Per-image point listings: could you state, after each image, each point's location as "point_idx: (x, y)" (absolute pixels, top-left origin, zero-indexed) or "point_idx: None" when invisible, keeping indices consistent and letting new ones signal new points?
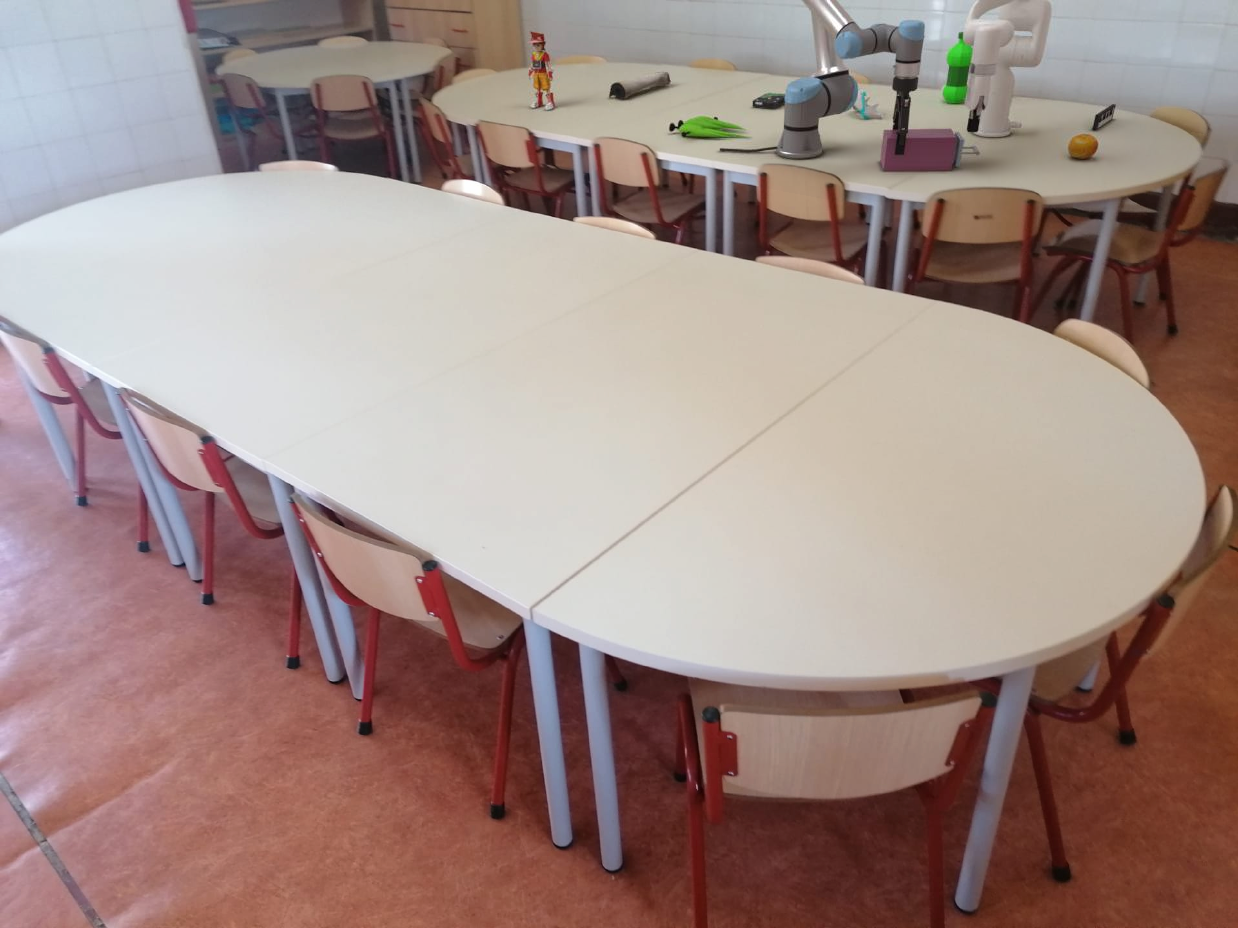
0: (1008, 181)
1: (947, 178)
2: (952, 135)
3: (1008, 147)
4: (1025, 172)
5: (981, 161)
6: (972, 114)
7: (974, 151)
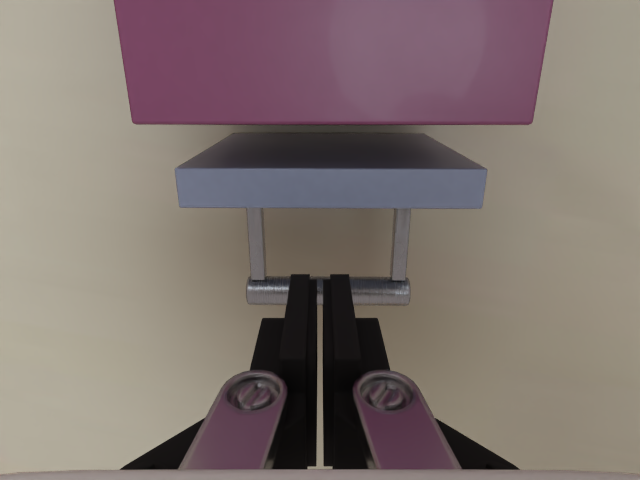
0: (52, 359)
1: (46, 45)
2: (210, 85)
3: (621, 462)
4: None
5: None
6: (200, 447)
7: None
